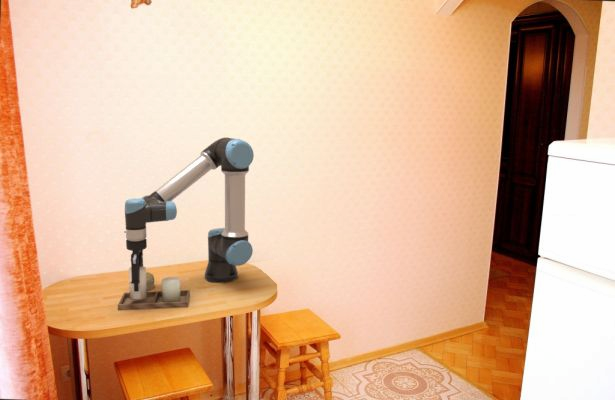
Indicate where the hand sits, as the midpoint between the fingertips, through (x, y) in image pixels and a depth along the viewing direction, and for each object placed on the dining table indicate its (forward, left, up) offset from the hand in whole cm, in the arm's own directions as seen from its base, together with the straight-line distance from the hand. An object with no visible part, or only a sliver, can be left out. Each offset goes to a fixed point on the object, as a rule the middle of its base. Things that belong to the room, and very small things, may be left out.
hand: (138, 295), depth 207 cm
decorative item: (+1, -17, -4) cm, 18 cm away
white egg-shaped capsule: (-13, 0, -3) cm, 13 cm away
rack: (-6, 0, -4) cm, 8 cm away
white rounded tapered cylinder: (0, 0, -1) cm, 1 cm away
